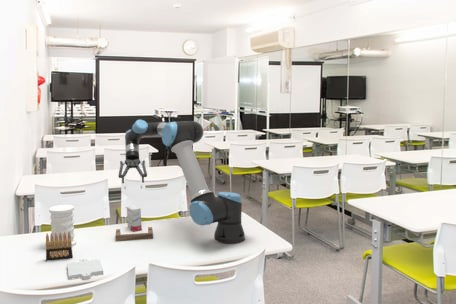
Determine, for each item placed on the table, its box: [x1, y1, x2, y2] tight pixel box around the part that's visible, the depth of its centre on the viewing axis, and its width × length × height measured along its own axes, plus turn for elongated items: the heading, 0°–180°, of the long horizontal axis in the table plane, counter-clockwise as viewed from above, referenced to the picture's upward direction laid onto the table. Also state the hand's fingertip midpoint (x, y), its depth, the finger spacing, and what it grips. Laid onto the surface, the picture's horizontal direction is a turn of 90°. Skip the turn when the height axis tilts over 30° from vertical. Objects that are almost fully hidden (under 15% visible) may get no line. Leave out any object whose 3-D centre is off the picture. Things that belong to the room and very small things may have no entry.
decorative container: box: [48, 204, 77, 247], centre depth 203 cm, size 12×12×18 cm
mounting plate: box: [66, 258, 104, 281], centre depth 175 cm, size 18×13×2 cm
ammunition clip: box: [45, 232, 74, 262], centre depth 187 cm, size 11×2×12 cm, turn 106°
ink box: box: [126, 204, 143, 232], centre depth 227 cm, size 9×5×12 cm, turn 34°
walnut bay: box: [114, 226, 154, 242], centre depth 216 cm, size 11×18×2 cm, turn 103°
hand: (133, 187), depth 232 cm, fingers open, 8 cm apart
